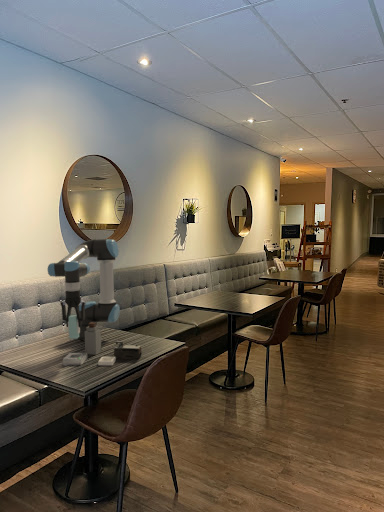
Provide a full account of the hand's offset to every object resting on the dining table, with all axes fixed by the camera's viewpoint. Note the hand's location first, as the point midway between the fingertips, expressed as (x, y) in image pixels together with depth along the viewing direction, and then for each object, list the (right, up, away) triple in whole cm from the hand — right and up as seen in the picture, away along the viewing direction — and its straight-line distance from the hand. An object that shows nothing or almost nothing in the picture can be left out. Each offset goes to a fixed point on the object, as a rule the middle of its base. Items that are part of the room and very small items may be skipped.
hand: (74, 332), depth 215 cm
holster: (+18, -16, -1) cm, 24 cm away
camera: (+28, -16, +7) cm, 33 cm away
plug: (0, -3, 0) cm, 3 cm away
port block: (0, -16, +2) cm, 16 cm away
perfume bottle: (+6, -15, +16) cm, 23 cm away
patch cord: (-1, -15, +13) cm, 20 cm away
